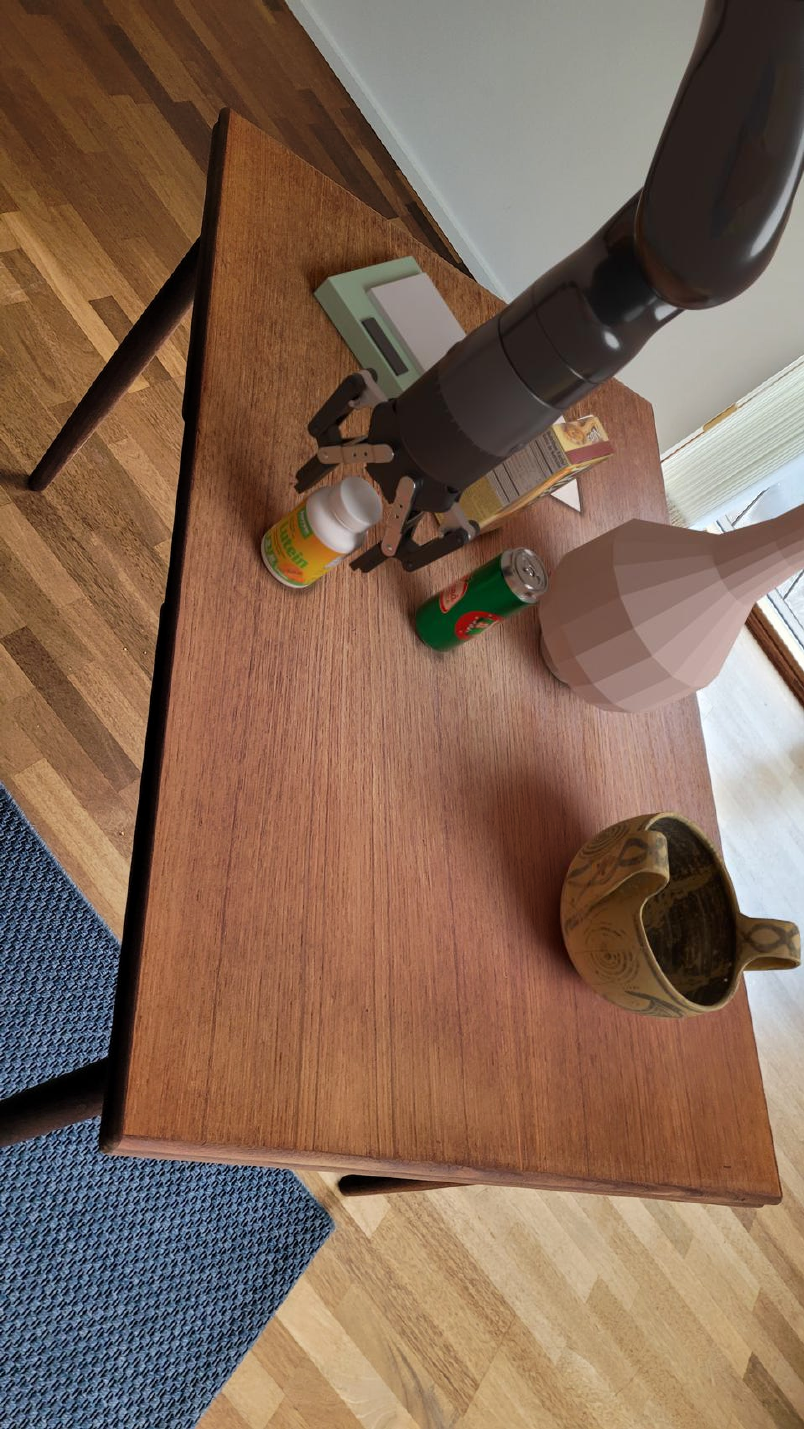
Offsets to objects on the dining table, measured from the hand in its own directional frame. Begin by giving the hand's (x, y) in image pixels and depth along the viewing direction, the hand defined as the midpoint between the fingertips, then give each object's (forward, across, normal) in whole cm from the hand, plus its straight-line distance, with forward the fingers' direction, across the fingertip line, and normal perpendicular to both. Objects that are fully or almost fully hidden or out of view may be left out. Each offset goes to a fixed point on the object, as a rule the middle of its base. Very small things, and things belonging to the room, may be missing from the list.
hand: (329, 525), depth 69 cm
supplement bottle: (+6, 0, 0) cm, 6 cm away
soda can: (+6, -12, -10) cm, 17 cm away
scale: (+6, +12, -32) cm, 35 cm away
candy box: (+6, -6, -24) cm, 25 cm away
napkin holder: (+6, -4, -44) cm, 44 cm away
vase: (+6, -23, -25) cm, 34 cm away
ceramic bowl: (+6, -42, -4) cm, 43 cm away
